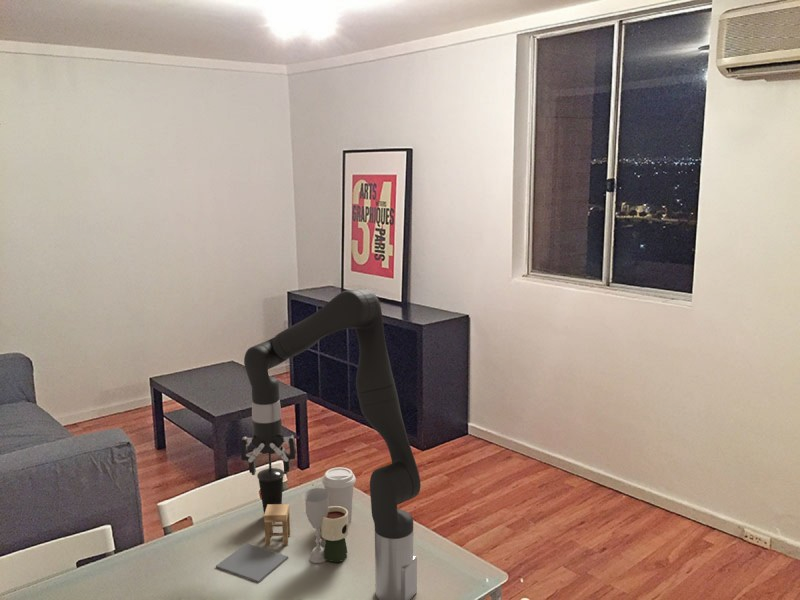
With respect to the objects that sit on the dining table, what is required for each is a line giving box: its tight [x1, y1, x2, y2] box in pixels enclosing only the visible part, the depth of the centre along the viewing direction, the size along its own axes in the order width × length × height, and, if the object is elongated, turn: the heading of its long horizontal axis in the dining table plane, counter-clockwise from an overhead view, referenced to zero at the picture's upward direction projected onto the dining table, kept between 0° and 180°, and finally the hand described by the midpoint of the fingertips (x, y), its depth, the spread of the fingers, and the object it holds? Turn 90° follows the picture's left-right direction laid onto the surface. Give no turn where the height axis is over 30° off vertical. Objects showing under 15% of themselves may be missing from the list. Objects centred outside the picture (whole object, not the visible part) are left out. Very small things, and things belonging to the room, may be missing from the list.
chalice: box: [302, 487, 330, 564], centre depth 180 cm, size 7×7×18 cm
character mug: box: [320, 506, 349, 563], centre depth 180 cm, size 11×7×13 cm, turn 177°
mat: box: [215, 542, 289, 584], centre depth 180 cm, size 14×12×1 cm
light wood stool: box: [263, 503, 291, 547], centre depth 190 cm, size 6×6×9 cm
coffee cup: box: [321, 467, 357, 526], centre depth 198 cm, size 10×10×15 cm
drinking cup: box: [256, 453, 285, 515], centre depth 200 cm, size 8×8×20 cm
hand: (269, 473), depth 185 cm, fingers open, 8 cm apart
